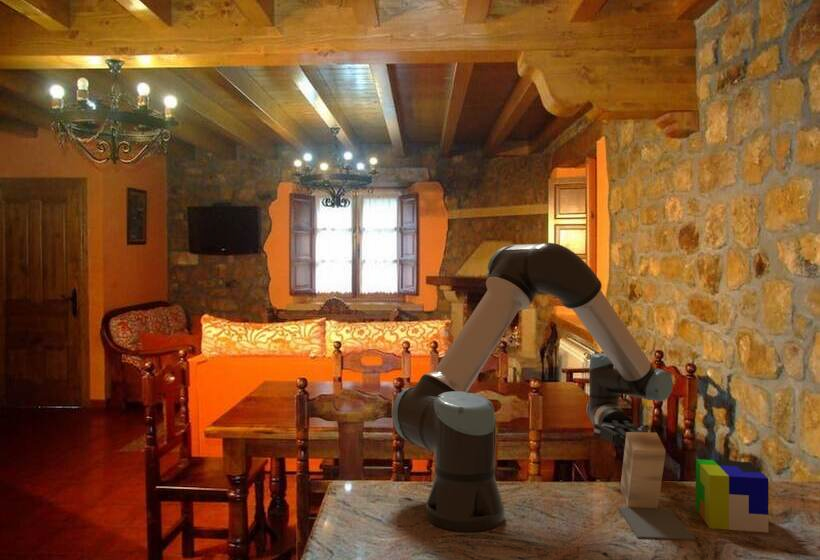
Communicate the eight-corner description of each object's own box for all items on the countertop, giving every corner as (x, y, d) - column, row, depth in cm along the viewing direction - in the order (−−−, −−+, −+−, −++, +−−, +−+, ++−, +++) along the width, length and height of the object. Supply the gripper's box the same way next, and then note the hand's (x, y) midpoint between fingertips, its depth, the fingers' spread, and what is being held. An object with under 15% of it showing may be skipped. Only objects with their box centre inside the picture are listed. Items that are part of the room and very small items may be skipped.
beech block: (620, 488, 130) (626, 431, 125) (649, 489, 129) (656, 432, 124) (627, 507, 124) (634, 449, 119) (657, 508, 124) (665, 450, 119)
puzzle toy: (768, 532, 112) (768, 478, 112) (709, 528, 114) (709, 475, 114) (749, 512, 122) (749, 462, 122) (695, 508, 124) (695, 459, 124)
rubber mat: (618, 508, 124) (618, 507, 124) (669, 510, 123) (669, 508, 123) (637, 538, 110) (637, 536, 110) (695, 540, 109) (695, 538, 109)
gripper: (640, 438, 150) (674, 468, 126) (586, 437, 151) (609, 467, 127) (640, 408, 150) (674, 432, 126) (586, 407, 151) (609, 431, 127)
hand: (641, 450), depth 127 cm, fingers closed
